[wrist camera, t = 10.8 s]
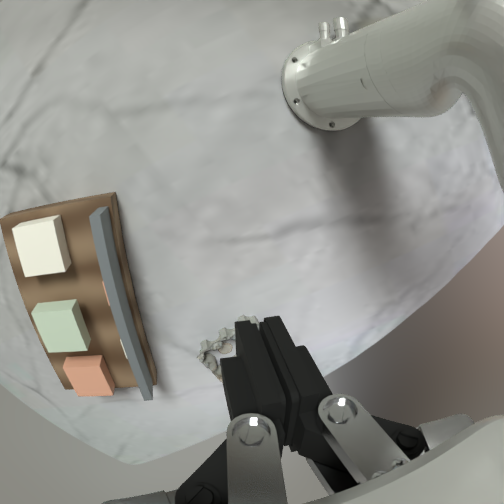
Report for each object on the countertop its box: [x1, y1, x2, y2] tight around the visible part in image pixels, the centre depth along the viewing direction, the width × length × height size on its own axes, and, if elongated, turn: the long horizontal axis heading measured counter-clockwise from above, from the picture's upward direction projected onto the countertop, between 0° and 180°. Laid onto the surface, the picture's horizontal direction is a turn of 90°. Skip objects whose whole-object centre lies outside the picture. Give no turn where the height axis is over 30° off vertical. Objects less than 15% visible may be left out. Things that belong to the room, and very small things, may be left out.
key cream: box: [12, 215, 71, 277], centre depth 28 cm, size 6×6×2 cm
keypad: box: [0, 192, 157, 401], centre depth 33 cm, size 28×16×7 cm, turn 3°
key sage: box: [31, 299, 91, 353], centre depth 30 cm, size 6×6×2 cm
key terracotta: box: [63, 355, 115, 396], centre depth 35 cm, size 6×6×2 cm
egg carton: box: [197, 315, 259, 383], centre depth 42 cm, size 11×8×4 cm
